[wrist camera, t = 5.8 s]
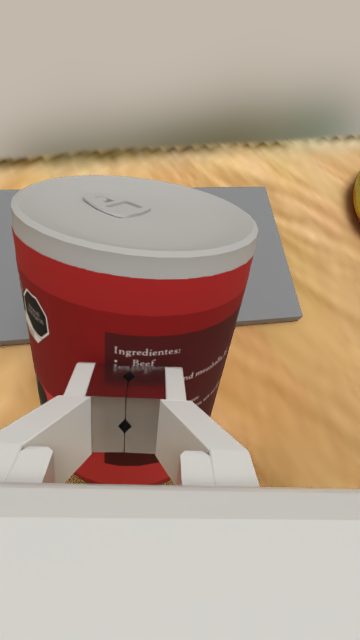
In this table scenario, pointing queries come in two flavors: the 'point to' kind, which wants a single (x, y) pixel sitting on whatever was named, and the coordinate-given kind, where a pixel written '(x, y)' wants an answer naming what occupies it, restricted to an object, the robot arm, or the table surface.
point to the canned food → (130, 288)
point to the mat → (261, 290)
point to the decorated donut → (357, 196)
